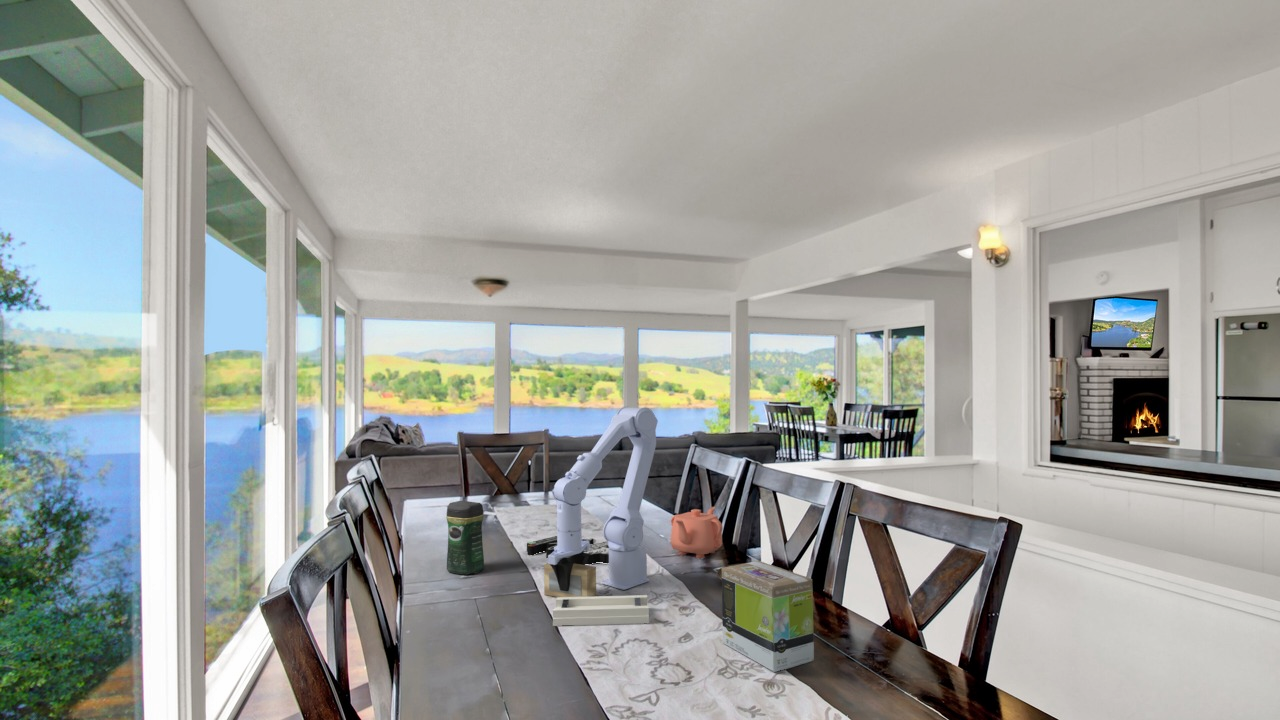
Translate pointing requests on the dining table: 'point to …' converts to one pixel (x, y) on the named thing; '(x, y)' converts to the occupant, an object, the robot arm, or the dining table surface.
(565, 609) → the cream rectangular frame
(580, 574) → the beige rectangular panel
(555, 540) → the sign
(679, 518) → the teapot
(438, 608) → the dining table surface
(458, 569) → the coffee jar
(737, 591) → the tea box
